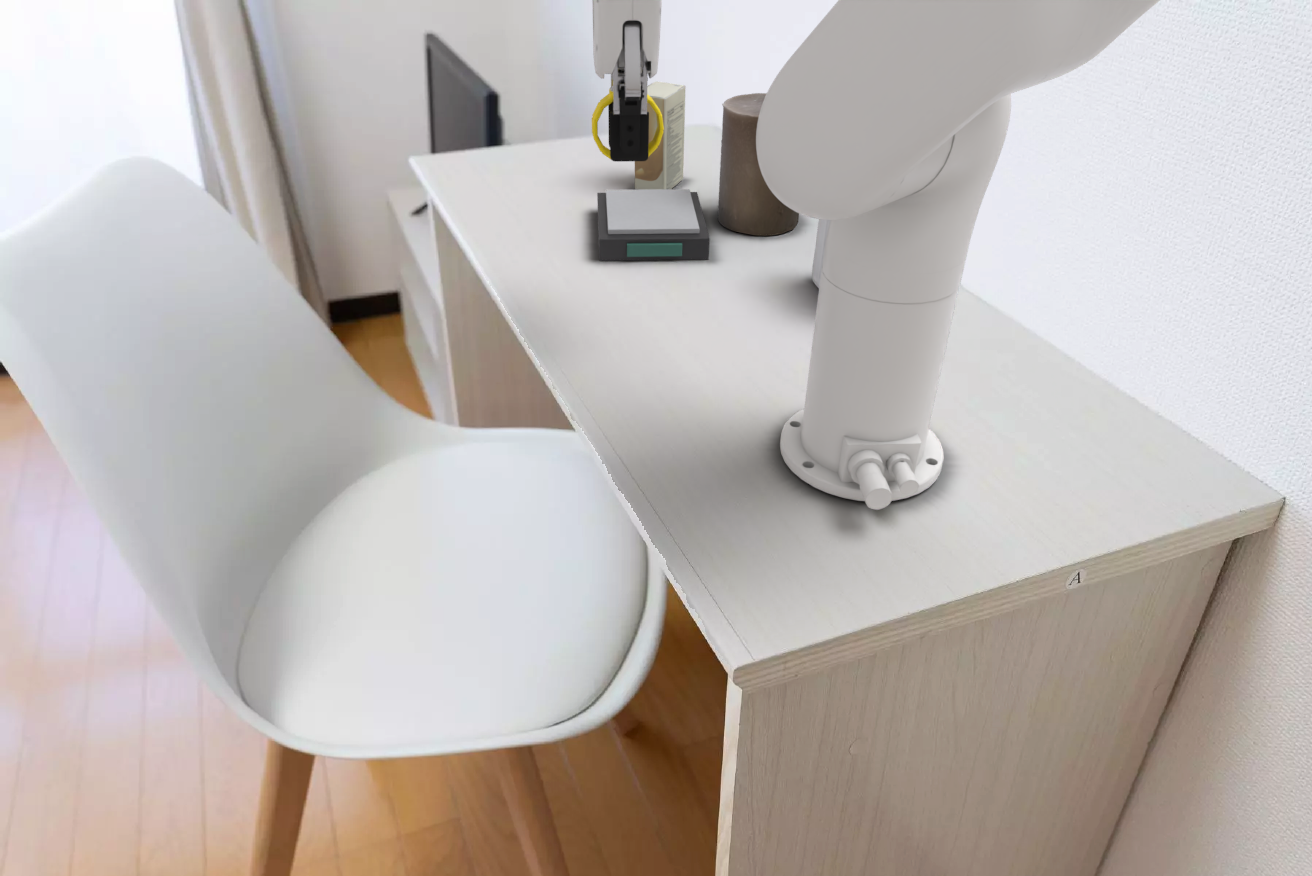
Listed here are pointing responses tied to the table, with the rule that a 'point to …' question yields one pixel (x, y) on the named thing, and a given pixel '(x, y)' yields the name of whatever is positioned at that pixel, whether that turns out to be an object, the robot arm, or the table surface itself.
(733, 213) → the pillar candle
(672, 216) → the scale
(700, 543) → the table surface
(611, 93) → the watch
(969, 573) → the table surface
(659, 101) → the cosmetic box
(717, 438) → the table surface
